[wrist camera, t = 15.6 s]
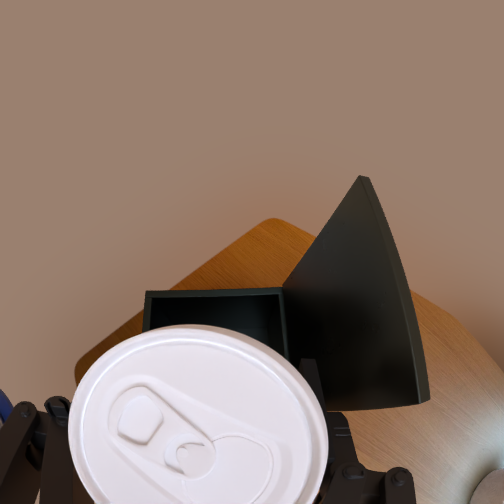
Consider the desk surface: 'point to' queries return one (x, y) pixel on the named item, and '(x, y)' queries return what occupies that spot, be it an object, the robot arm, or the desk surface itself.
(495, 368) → the desk surface
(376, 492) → the robot arm
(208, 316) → the trash bin
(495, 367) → the desk surface
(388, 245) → the bin lid
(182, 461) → the beverage can
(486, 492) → the planter
